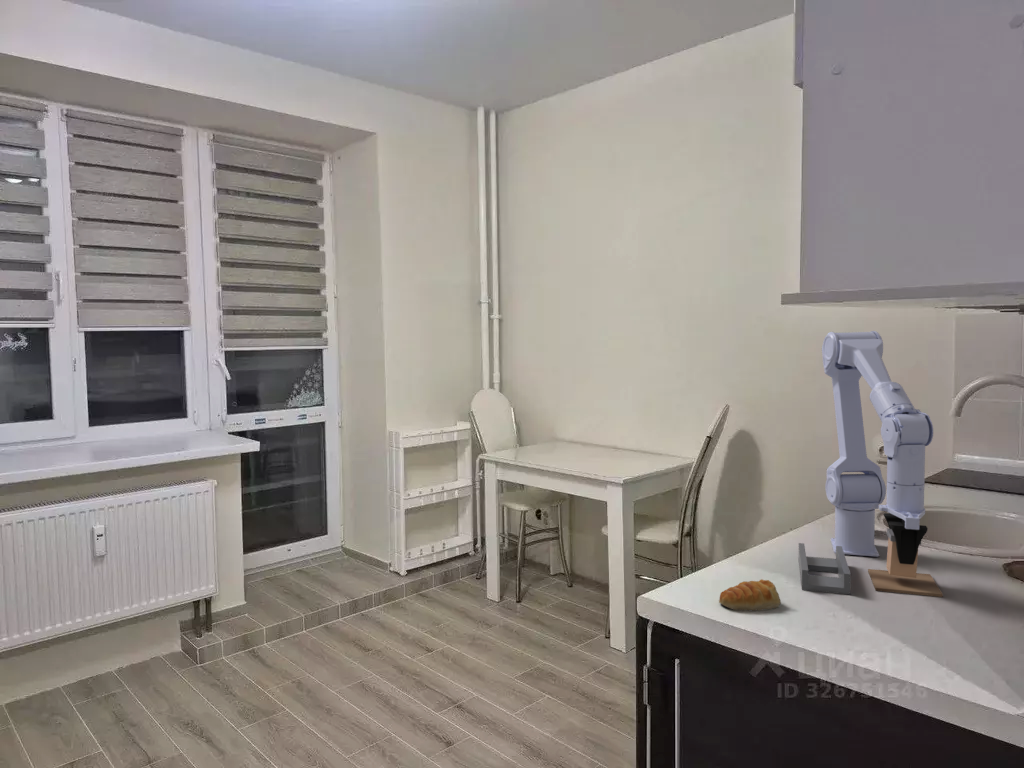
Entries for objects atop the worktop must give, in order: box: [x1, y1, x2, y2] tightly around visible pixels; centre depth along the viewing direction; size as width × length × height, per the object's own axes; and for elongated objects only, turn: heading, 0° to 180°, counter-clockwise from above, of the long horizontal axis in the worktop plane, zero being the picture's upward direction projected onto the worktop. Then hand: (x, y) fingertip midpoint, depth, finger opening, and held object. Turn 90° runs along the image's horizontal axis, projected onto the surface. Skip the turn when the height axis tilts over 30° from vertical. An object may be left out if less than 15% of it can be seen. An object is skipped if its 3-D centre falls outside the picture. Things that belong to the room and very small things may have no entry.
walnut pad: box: [867, 568, 944, 598], centre depth 124 cm, size 10×10×1 cm
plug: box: [885, 528, 922, 578], centre depth 123 cm, size 5×5×7 cm
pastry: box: [718, 578, 782, 612], centre depth 116 cm, size 9×7×4 cm
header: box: [797, 542, 852, 595], centre depth 128 cm, size 16×8×4 cm, turn 160°
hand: (903, 559), depth 124 cm, fingers closed on plug, 4 cm apart
